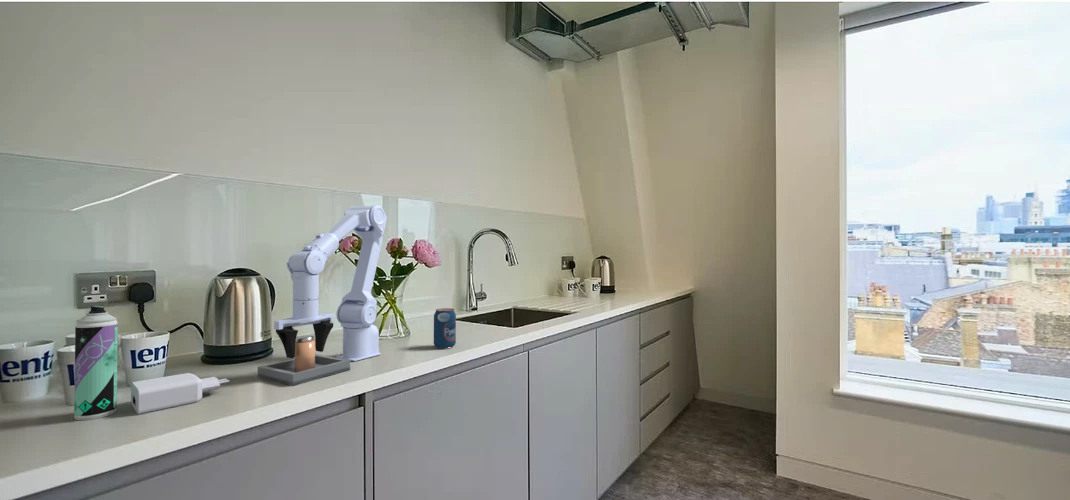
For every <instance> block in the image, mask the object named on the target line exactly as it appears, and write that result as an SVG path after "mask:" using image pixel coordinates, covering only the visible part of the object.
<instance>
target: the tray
mask: <svg viewBox="0 0 1070 500" xmlns="http://www.w3.org/2000/svg"><path fill="white" fill-rule="evenodd" d="M347 371H351V361H350V360H346V359H340V358H336V357H333V356H328V355H324V354H323V355H322V354H316V353H315V368H312V369H308V370H304V371H300V372H295V358H290V359H288V360H287V359H285V360H283V361H278V362H273V363H269V364H264V365H259V366H257V378H258V379H263V380H268V381H272V382H276V383H280V384H284V385H288V386H293V387H294V386H298V385H301V384H304V383H308V382H312V381H315V380H321V379H322V378H326V377H330V376H334V375H336V374H341V373H344V372H347Z"/></svg>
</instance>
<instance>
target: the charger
mask: <svg viewBox="0 0 1070 500" xmlns="http://www.w3.org/2000/svg"><path fill="white" fill-rule="evenodd" d="M229 382H230V380H229V379H228V378H222V379H218V378H217V377H216V376H211V377H206V378H200V377H198V376H197V375H196V374H193V373H190V372H185V373H180V374H174V375H167V376H162V377H155V378H150V379H144V380H139V381H137V380H136V381H131V383H130V403H131V406H132V408H133V409H134V411H135V412H136V414H137V415H142V414H146V413H151V412H156V411H159V410H160V411H161V410H165V409H170V408H174V407H179V406H186V405H189V404H194V403H195V404H196V403H198V402H199V401H201V400H202V399H203V393H206V392H211V391H216V390H219V389H220V386H221V384H225V383H229Z"/></svg>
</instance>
